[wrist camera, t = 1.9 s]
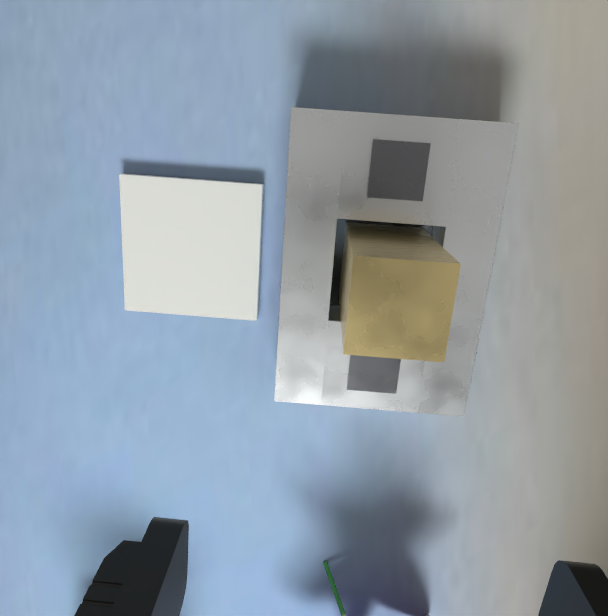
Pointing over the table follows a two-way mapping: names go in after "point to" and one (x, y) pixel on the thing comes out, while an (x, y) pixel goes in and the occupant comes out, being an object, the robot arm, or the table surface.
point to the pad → (191, 246)
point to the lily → (336, 589)
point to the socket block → (395, 209)
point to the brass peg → (396, 293)
